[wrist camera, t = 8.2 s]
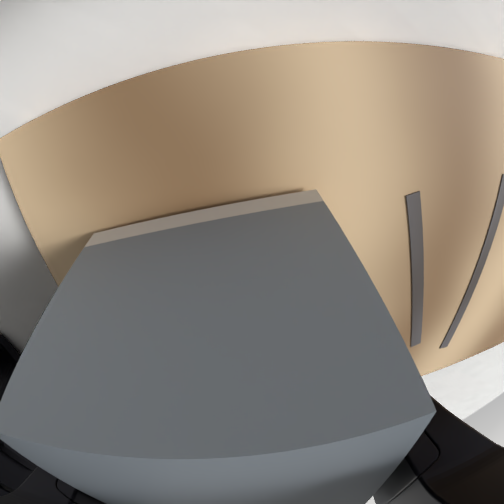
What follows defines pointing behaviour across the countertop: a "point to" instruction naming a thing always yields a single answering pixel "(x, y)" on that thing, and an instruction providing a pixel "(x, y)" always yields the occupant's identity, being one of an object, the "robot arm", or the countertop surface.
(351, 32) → the countertop surface
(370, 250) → the oak board
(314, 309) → the block
